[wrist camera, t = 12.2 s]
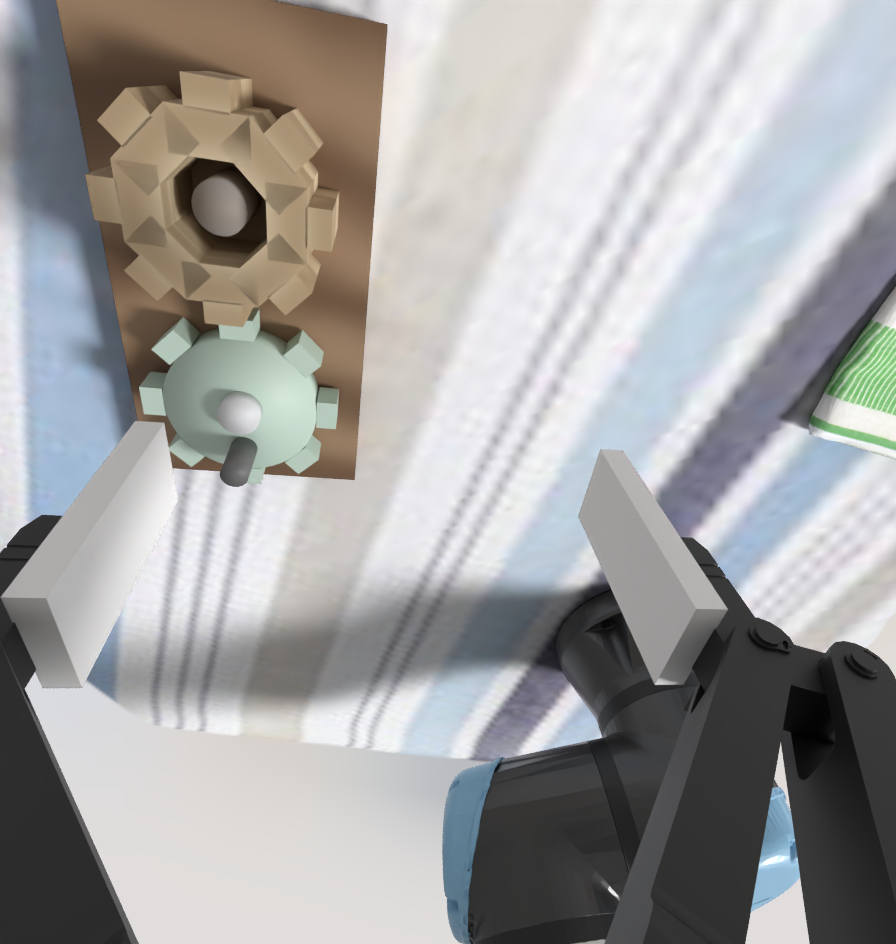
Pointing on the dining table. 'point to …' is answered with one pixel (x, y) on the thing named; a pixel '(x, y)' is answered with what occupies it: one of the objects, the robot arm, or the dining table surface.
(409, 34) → the dining table surface
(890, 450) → the dish towel
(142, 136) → the beech gear
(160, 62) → the gear board
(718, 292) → the dining table surface
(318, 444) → the gear
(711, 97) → the dining table surface
